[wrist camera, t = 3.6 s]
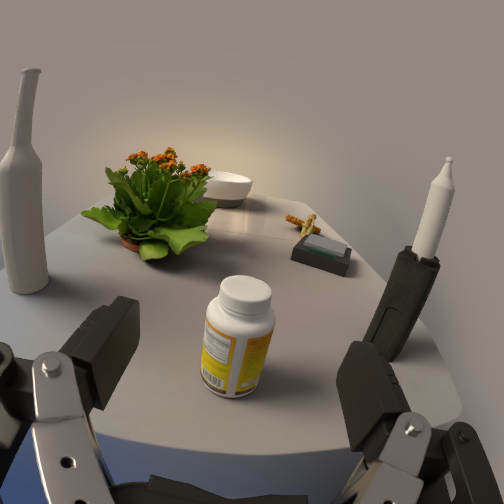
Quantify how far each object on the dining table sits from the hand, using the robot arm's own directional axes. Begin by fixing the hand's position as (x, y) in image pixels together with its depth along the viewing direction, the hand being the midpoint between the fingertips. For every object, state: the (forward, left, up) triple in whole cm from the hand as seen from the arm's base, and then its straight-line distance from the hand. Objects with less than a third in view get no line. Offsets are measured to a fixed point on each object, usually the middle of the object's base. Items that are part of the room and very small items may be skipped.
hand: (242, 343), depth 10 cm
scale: (+2, -50, -14) cm, 52 cm away
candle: (-11, -25, -14) cm, 31 cm away
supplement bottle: (+4, -11, -14) cm, 18 cm away
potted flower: (+32, -31, -14) cm, 46 cm away
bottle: (+34, -7, -14) cm, 37 cm away
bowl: (+41, -73, -14) cm, 84 cm away
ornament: (+9, -64, -14) cm, 66 cm away
